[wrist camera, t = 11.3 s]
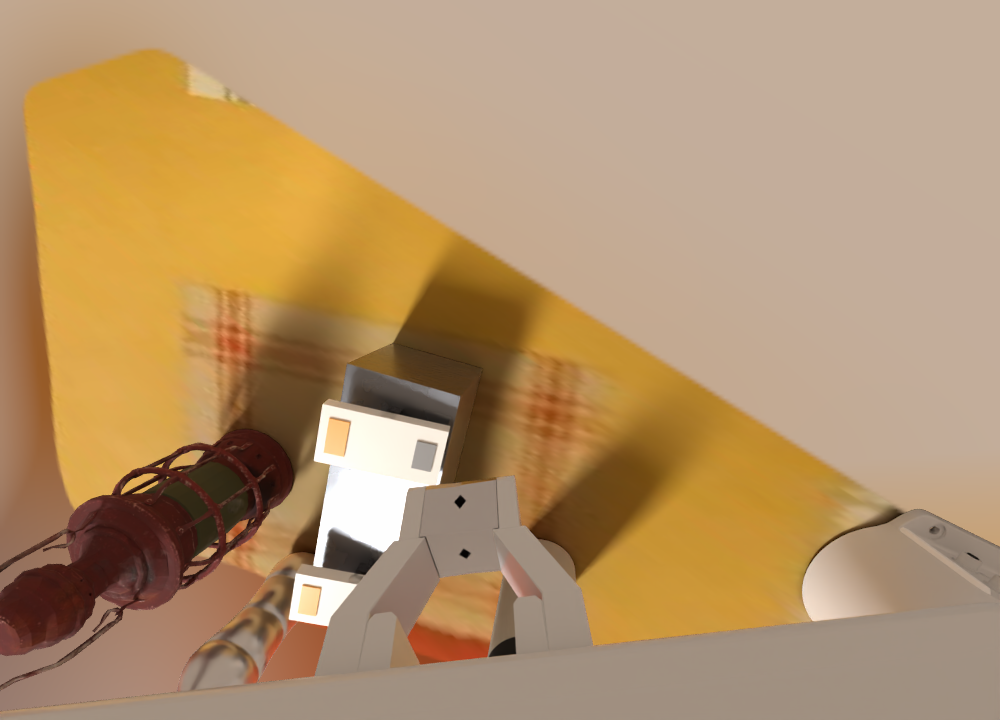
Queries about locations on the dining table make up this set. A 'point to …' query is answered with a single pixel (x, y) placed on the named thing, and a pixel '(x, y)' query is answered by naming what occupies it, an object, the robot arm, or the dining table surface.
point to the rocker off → (320, 593)
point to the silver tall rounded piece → (248, 634)
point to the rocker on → (380, 442)
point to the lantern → (144, 541)
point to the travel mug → (504, 618)
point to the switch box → (380, 499)
